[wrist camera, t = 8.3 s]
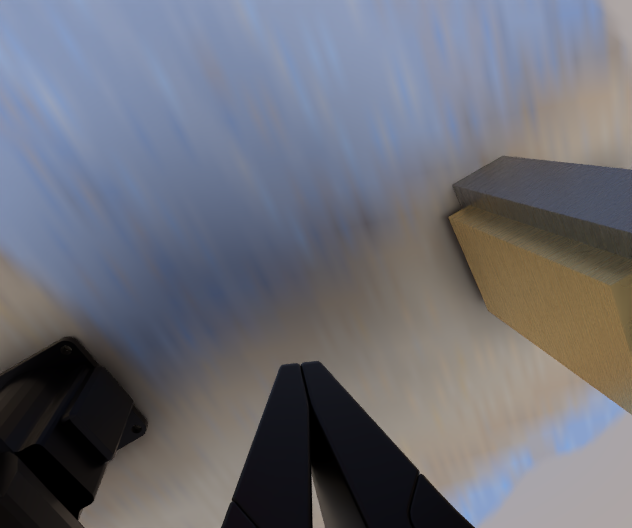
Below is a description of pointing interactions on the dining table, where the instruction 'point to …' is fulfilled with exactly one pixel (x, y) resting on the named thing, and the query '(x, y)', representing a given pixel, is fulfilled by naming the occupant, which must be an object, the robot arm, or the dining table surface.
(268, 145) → the dining table surface
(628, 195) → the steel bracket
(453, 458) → the dining table surface
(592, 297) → the brass pin
